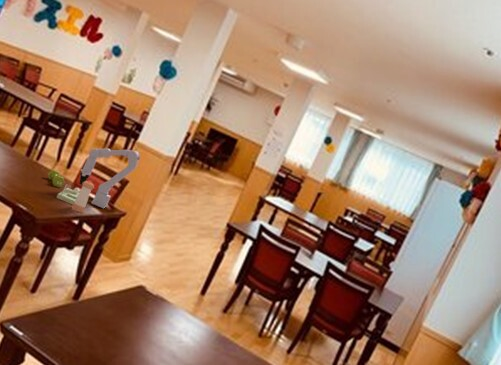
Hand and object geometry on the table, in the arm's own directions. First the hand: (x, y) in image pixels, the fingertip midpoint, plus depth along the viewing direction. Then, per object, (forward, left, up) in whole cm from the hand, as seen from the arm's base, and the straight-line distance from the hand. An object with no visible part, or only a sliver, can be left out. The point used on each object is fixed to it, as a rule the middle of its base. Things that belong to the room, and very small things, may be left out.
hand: (80, 184), depth 341 cm
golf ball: (0, +8, -3) cm, 8 cm away
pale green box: (0, +14, -8) cm, 16 cm away
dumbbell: (+17, -6, -8) cm, 20 cm away
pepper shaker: (-8, +33, -8) cm, 34 cm away
